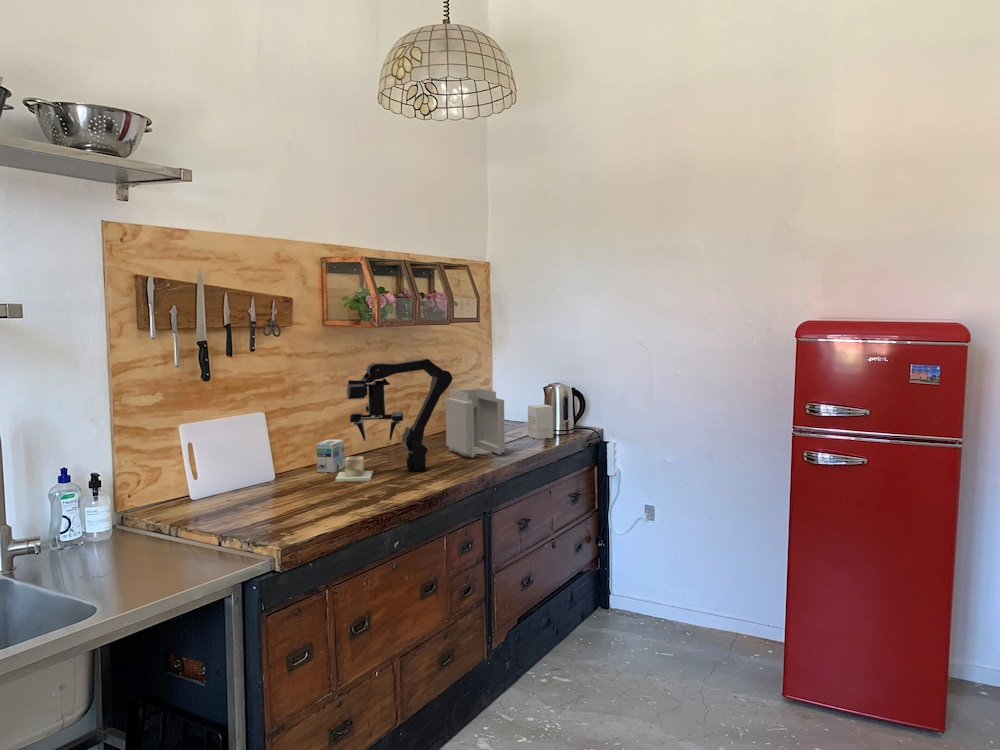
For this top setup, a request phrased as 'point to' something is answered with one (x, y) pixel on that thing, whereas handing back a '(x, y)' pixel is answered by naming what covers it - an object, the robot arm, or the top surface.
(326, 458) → the light bulb box
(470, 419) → the gray open cabinet
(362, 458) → the birch cube
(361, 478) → the sage board
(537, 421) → the supplement box
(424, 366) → the robot arm
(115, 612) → the top surface
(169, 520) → the top surface
